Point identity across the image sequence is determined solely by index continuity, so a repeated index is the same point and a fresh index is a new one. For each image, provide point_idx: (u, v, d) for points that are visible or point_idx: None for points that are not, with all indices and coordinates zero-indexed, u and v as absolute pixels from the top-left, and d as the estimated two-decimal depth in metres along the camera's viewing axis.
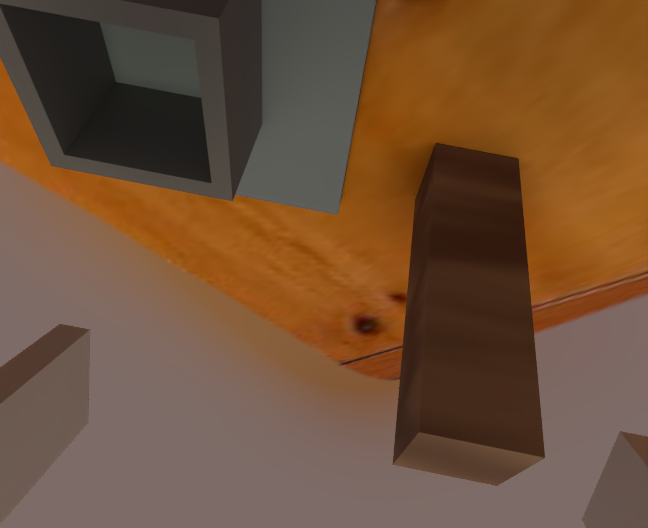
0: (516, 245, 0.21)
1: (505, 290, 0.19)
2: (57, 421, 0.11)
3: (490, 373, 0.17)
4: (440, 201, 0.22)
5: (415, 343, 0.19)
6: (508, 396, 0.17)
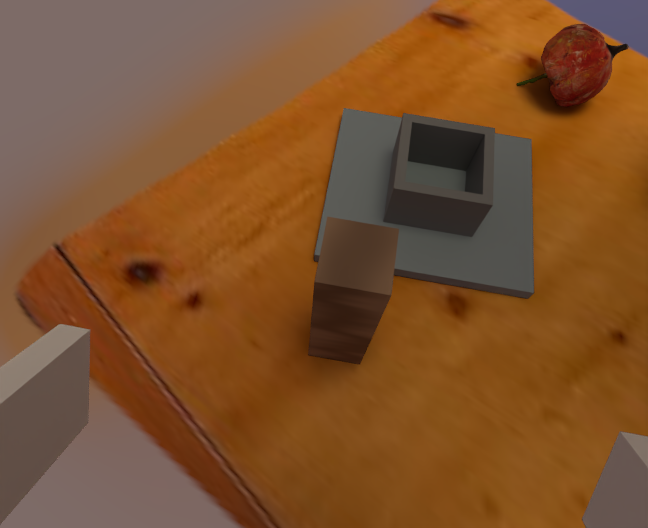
0: None
1: None
2: (57, 421, 0.11)
3: None
4: None
5: None
6: None
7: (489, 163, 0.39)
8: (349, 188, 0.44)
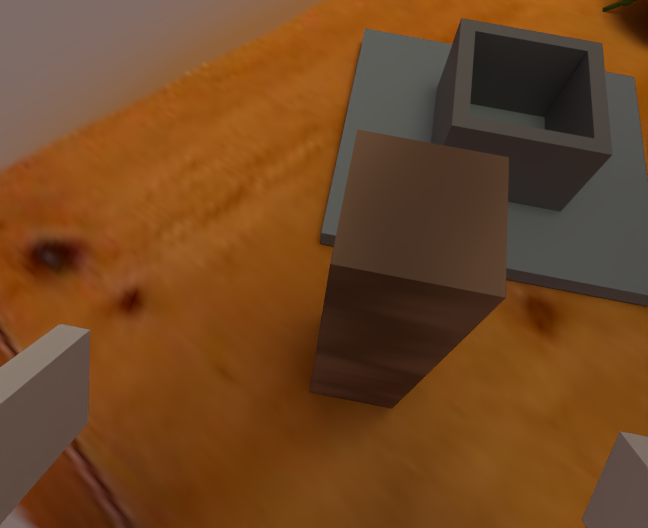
0: None
1: None
2: (57, 421, 0.11)
3: None
4: None
5: None
6: None
7: (599, 92, 0.25)
8: None
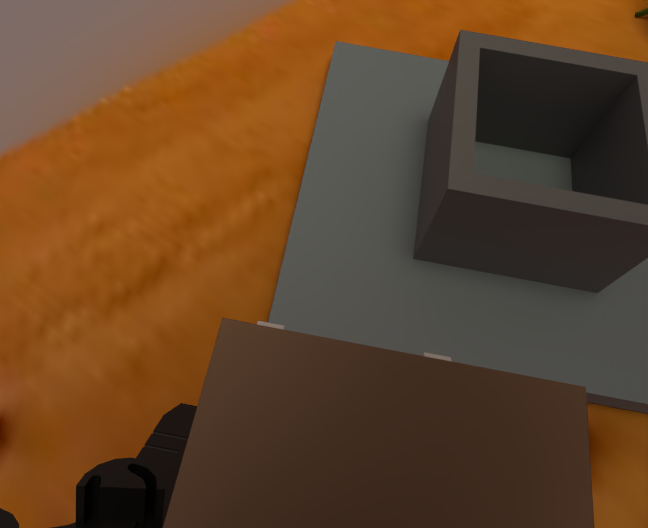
0: None
1: None
2: None
3: None
4: None
5: None
6: None
7: None
8: (344, 189, 0.22)
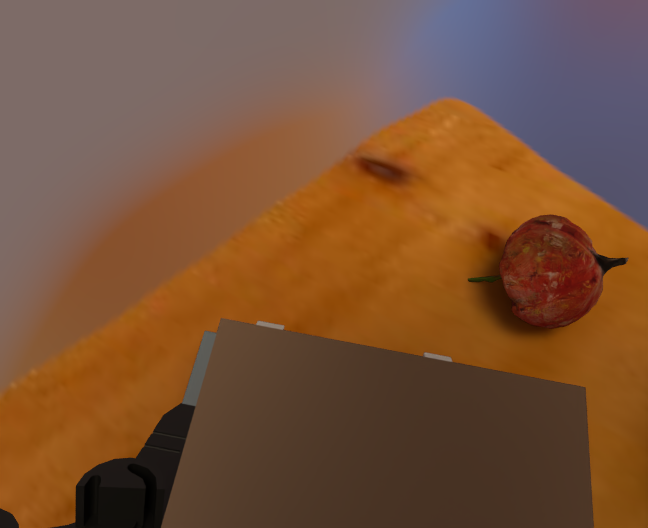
0: None
1: None
2: None
3: None
4: None
5: None
6: None
7: None
8: None
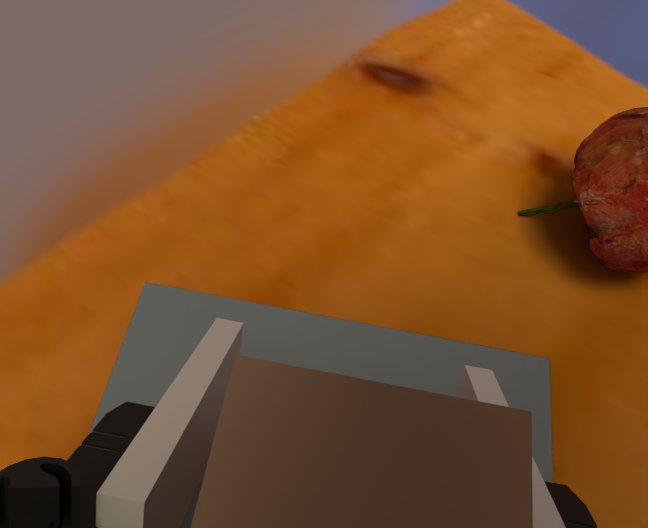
0: None
1: None
2: None
3: None
4: None
5: None
6: None
7: None
8: None
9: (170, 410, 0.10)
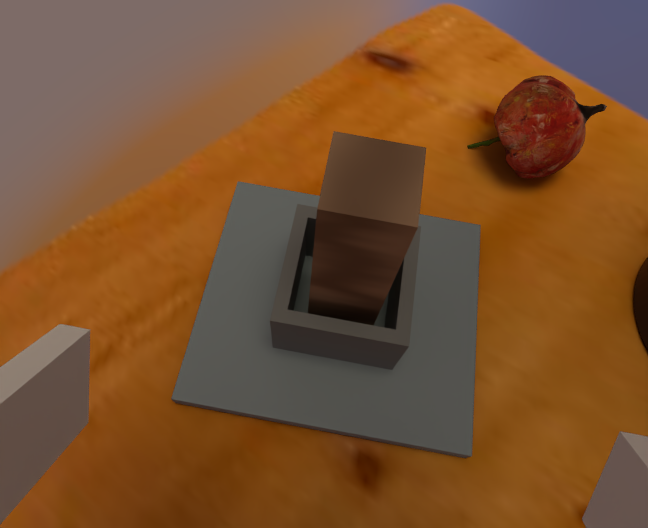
0: None
1: None
2: (57, 421, 0.11)
3: None
4: None
5: None
6: None
7: (409, 280, 0.28)
8: (232, 297, 0.33)
9: None
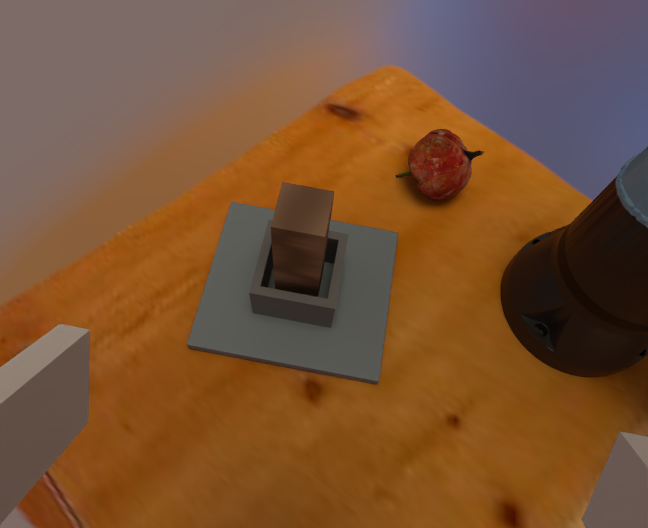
0: (319, 280, 0.44)
1: (322, 262, 0.42)
2: (57, 421, 0.11)
3: (326, 234, 0.39)
4: None
5: None
6: None
7: (338, 268, 0.45)
8: (226, 280, 0.49)
9: None
